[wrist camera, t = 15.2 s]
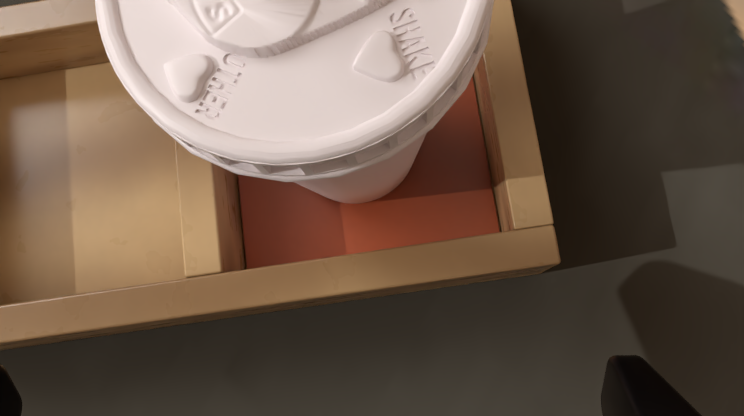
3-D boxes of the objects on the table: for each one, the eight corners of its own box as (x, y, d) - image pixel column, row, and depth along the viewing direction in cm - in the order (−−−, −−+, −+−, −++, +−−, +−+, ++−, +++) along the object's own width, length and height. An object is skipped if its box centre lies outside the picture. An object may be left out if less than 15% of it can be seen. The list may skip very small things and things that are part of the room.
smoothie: (257, 41, 20) (-84, -555, 7) (465, 43, 20) (557, -600, 6) (240, 245, 19) (-216, 33, 6) (461, 253, 19) (561, 40, 5)
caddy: (541, 273, 19) (562, 263, 16) (-49, 357, 20) (-130, 362, 17) (486, -22, 21) (495, -79, 18) (-52, 68, 22) (-126, 27, 19)
